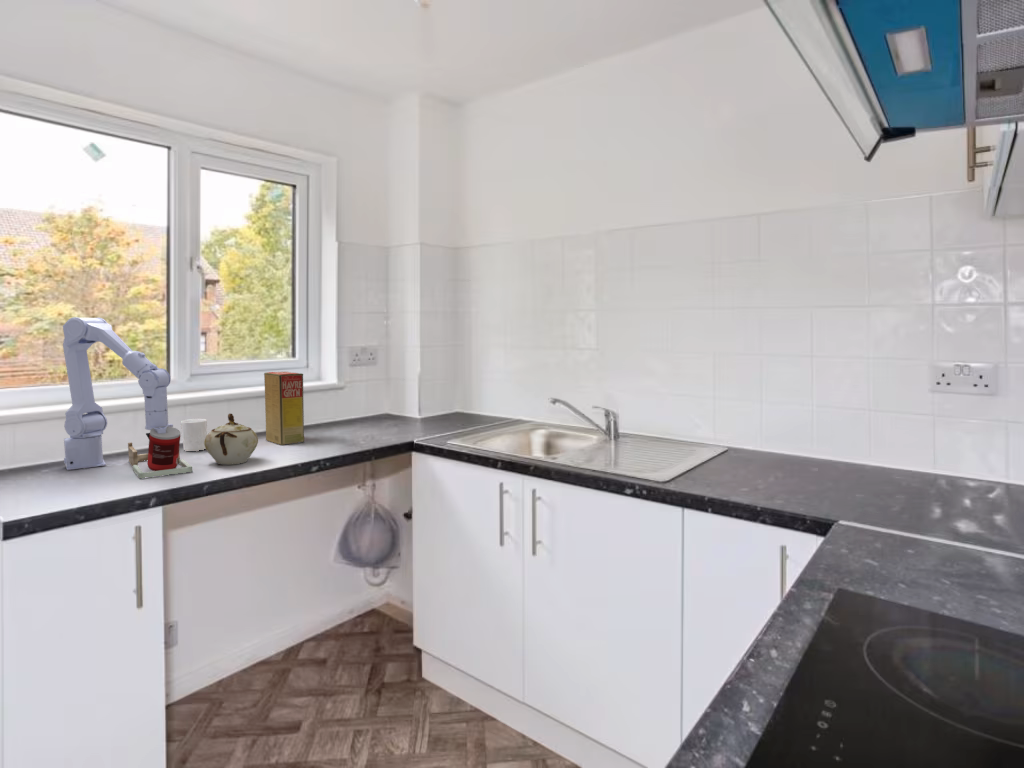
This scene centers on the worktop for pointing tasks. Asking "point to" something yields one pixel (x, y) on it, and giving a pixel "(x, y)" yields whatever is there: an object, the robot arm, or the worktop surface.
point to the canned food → (163, 449)
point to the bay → (164, 472)
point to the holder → (135, 458)
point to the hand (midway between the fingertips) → (158, 456)
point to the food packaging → (284, 407)
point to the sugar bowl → (231, 443)
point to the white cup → (194, 434)
